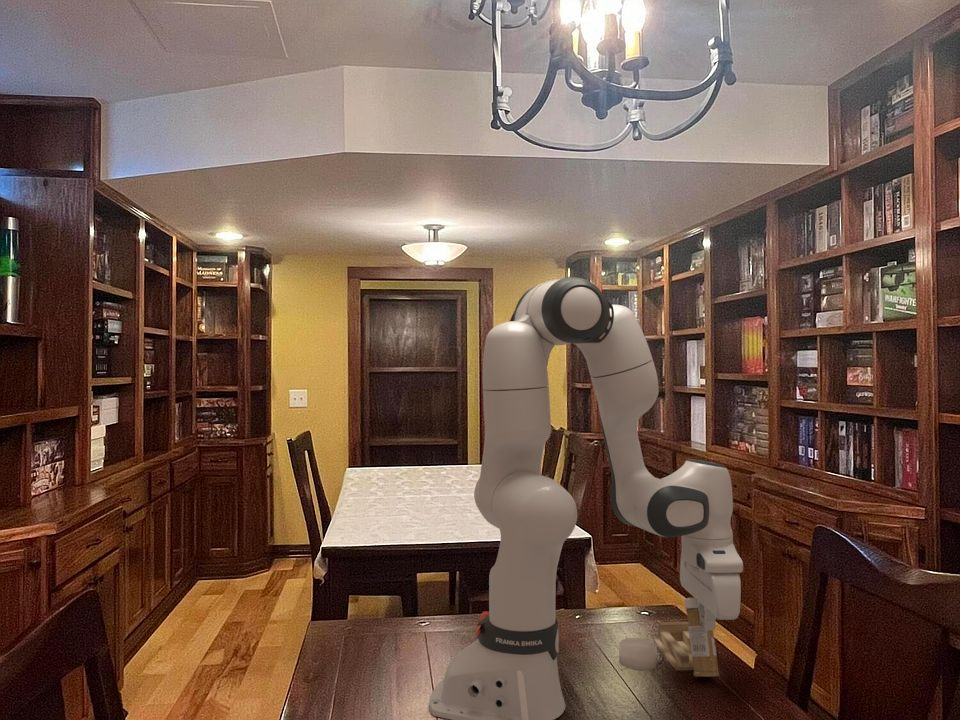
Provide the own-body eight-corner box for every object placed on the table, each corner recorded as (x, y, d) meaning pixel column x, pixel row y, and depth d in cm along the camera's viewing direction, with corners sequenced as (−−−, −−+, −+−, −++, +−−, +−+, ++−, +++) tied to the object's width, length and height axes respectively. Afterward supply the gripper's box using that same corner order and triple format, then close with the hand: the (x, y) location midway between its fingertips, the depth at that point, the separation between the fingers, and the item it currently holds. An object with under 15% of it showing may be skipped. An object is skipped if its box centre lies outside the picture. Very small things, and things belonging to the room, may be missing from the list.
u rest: (718, 669, 134) (718, 647, 134) (675, 670, 134) (675, 648, 134) (692, 641, 148) (692, 621, 148) (653, 641, 148) (653, 622, 148)
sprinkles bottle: (725, 676, 128) (714, 597, 134) (707, 676, 126) (698, 596, 131) (704, 676, 132) (695, 599, 137) (687, 676, 130) (678, 598, 135)
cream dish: (619, 669, 134) (619, 650, 134) (619, 654, 141) (619, 636, 141) (657, 672, 133) (658, 653, 133) (655, 657, 140) (655, 639, 140)
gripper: (671, 536, 139) (671, 608, 139) (710, 565, 119) (710, 650, 119) (703, 536, 140) (703, 608, 139) (747, 565, 119) (748, 649, 119)
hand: (707, 627), depth 129 cm, fingers closed
